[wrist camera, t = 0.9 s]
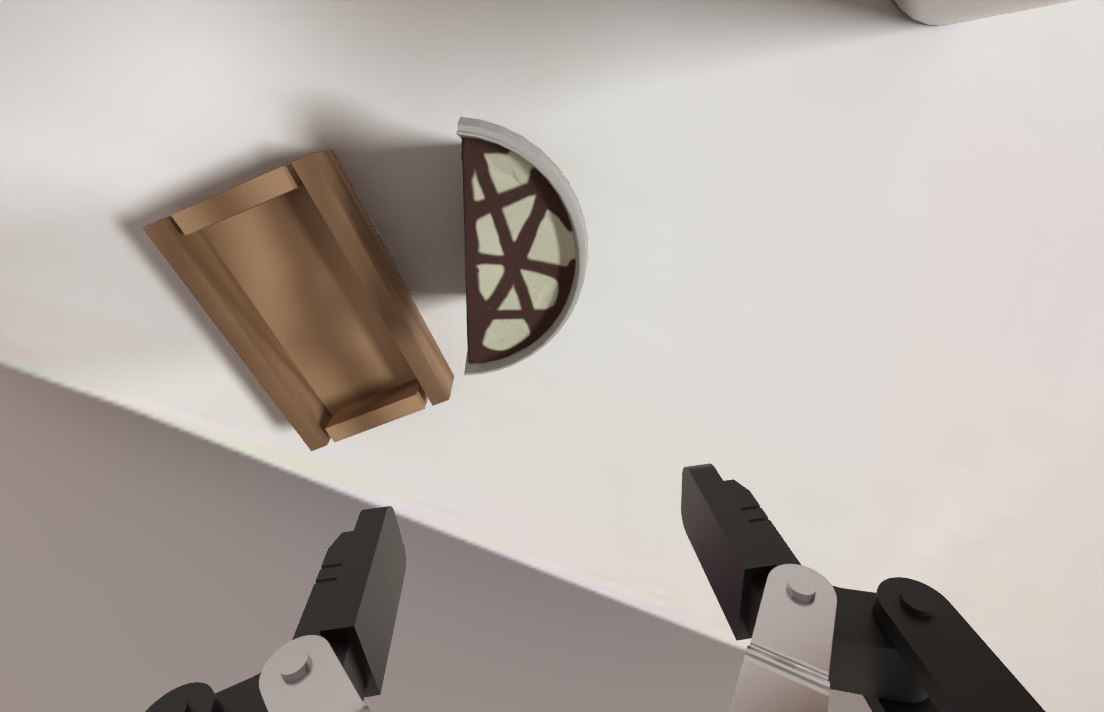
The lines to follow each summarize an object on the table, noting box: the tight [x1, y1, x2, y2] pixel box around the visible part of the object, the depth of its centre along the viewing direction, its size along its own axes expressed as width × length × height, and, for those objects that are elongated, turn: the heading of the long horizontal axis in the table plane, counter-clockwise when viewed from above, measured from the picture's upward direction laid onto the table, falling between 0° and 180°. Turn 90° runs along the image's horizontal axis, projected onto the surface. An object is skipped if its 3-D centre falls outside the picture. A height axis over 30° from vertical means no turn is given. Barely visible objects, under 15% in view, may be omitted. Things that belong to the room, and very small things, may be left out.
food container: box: [456, 117, 588, 375], centre depth 28 cm, size 12×6×10 cm, turn 177°
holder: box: [143, 150, 454, 451], centre depth 32 cm, size 10×16×3 cm, turn 21°
